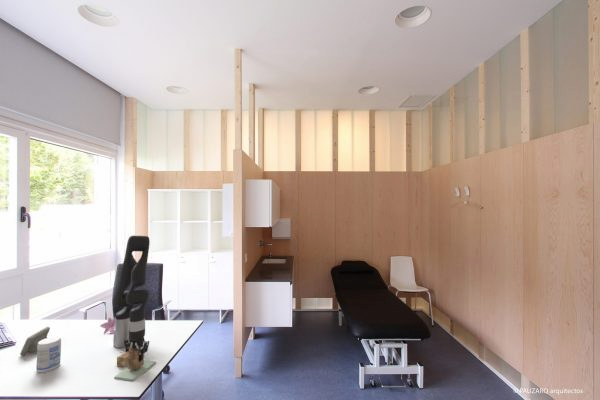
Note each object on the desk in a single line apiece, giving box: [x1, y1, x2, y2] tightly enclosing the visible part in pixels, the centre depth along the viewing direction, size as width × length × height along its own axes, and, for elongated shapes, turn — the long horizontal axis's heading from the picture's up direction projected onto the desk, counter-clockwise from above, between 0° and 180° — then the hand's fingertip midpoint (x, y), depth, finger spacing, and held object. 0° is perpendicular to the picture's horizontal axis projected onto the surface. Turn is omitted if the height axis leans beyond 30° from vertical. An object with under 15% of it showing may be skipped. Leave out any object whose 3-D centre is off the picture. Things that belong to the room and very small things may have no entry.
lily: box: [99, 316, 115, 335], centre depth 188 cm, size 12×12×10 cm
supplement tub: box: [35, 335, 62, 373], centre depth 145 cm, size 10×10×15 cm
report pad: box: [113, 359, 157, 382], centre depth 143 cm, size 11×16×1 cm
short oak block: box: [116, 351, 129, 368], centre depth 149 cm, size 5×5×5 cm
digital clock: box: [19, 326, 51, 357], centre depth 163 cm, size 16×9×11 cm, turn 178°
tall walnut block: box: [127, 347, 145, 370], centre depth 143 cm, size 5×5×10 cm
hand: (136, 360), depth 143 cm, fingers closed on tall walnut block, 5 cm apart
